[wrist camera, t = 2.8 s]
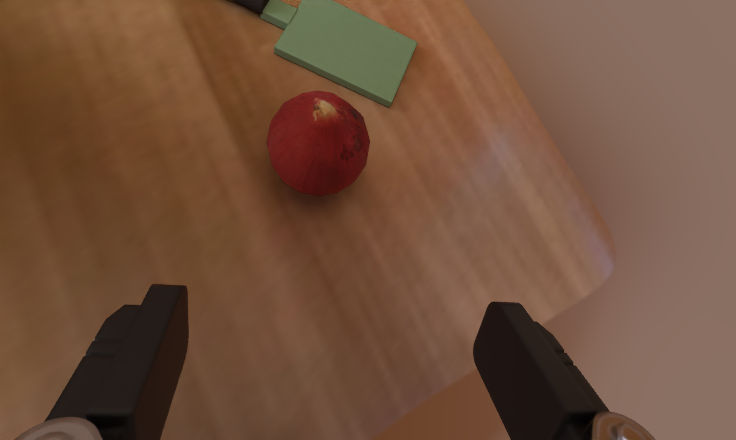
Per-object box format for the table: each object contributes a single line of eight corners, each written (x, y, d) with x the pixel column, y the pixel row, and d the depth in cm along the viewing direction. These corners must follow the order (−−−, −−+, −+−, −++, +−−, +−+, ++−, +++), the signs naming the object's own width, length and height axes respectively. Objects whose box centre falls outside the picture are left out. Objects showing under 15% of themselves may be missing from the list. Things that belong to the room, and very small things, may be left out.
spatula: (97, -30, 29) (87, -54, 27) (145, -84, 31) (138, -109, 29) (389, 108, 31) (396, 93, 29) (414, 48, 33) (422, 31, 31)
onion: (343, 125, 29) (368, 48, 22) (366, 202, 28) (401, 147, 21) (259, 138, 28) (255, 59, 20) (279, 220, 26) (283, 168, 19)
